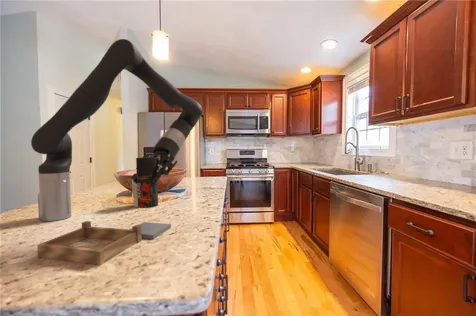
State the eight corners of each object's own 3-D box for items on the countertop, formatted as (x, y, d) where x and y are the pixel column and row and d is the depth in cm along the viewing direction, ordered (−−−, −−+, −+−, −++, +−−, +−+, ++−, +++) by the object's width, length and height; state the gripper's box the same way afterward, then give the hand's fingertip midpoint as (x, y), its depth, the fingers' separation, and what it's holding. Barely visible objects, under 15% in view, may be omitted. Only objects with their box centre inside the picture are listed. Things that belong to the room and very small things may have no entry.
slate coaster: (123, 236, 71) (123, 232, 71) (143, 225, 80) (143, 222, 80) (153, 239, 68) (153, 235, 68) (170, 227, 78) (170, 224, 78)
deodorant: (162, 204, 76) (160, 157, 75) (149, 208, 70) (147, 158, 70) (146, 203, 78) (145, 157, 77) (133, 207, 72) (131, 158, 72)
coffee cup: (145, 208, 103) (144, 174, 103) (127, 207, 105) (126, 173, 105) (156, 203, 112) (156, 171, 112) (139, 202, 114) (138, 171, 113)
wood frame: (36, 256, 58) (36, 239, 57) (86, 235, 71) (86, 221, 71) (101, 265, 53) (101, 245, 53) (141, 240, 67) (141, 225, 67)
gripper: (148, 137, 83) (119, 174, 73) (180, 135, 76) (152, 177, 66) (160, 151, 88) (134, 189, 78) (191, 151, 81) (167, 192, 71)
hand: (142, 183), depth 72 cm, fingers closed on deodorant, 6 cm apart
